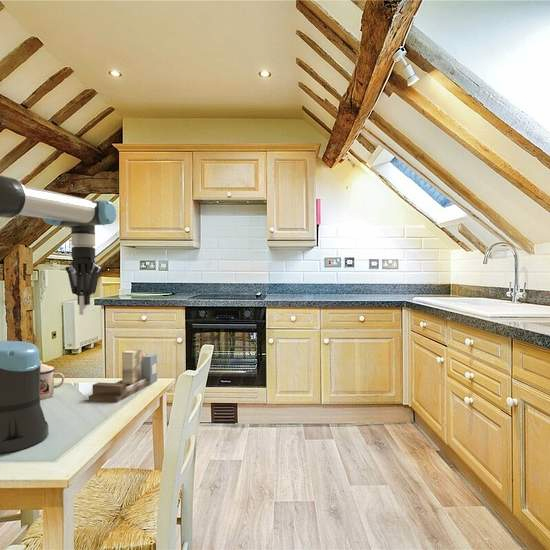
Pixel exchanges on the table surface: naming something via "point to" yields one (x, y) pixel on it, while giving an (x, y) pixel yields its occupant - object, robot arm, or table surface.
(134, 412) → the table surface
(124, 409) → the table surface
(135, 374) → the carriage
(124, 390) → the rail bed
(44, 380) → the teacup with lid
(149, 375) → the cabinet
